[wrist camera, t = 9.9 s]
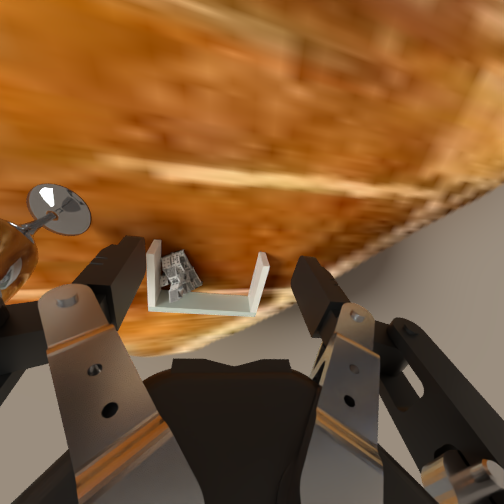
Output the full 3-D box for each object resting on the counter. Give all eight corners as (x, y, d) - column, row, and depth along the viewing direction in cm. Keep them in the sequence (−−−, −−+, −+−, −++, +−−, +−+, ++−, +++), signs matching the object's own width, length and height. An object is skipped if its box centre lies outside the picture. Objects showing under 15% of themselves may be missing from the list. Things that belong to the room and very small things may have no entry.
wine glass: (101, 201, 28) (5, 267, 16) (85, 247, 31) (-7, 334, 19) (28, 166, 26) (-165, 212, 13) (17, 221, 28) (-147, 302, 16)
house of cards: (126, 255, 33) (103, 288, 27) (179, 237, 33) (169, 266, 26) (156, 296, 38) (143, 332, 32) (203, 281, 38) (200, 314, 31)
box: (154, 239, 32) (146, 253, 29) (265, 252, 36) (269, 266, 32) (154, 293, 37) (148, 311, 34) (252, 300, 41) (255, 316, 37)
